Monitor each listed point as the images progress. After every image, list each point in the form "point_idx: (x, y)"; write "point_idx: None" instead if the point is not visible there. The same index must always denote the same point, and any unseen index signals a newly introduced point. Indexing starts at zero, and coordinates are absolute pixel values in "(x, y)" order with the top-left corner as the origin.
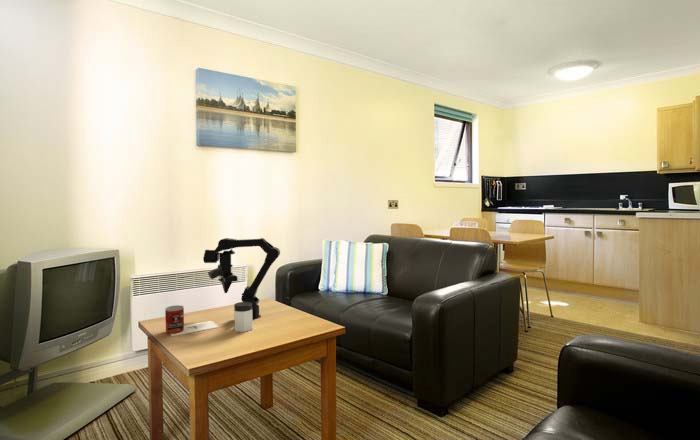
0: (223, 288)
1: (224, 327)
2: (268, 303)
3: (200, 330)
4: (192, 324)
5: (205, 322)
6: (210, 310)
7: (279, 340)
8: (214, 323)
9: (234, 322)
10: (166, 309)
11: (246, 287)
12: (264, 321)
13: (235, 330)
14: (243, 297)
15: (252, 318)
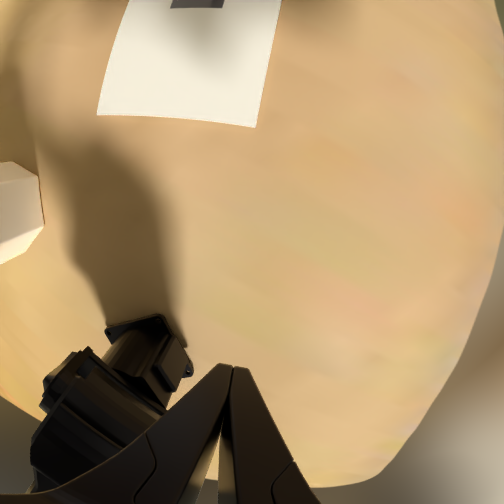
0: (253, 423)
1: (80, 139)
2: (316, 475)
3: (123, 16)
4: (270, 9)
5: (246, 77)
6: (477, 265)
7: None
8: (175, 113)
9: (14, 178)
10: None
11: (57, 484)
12: (64, 336)
13: (9, 162)
14: (64, 392)
15: (108, 328)
